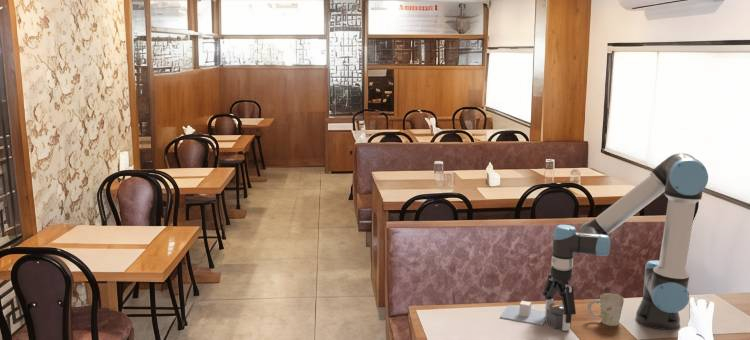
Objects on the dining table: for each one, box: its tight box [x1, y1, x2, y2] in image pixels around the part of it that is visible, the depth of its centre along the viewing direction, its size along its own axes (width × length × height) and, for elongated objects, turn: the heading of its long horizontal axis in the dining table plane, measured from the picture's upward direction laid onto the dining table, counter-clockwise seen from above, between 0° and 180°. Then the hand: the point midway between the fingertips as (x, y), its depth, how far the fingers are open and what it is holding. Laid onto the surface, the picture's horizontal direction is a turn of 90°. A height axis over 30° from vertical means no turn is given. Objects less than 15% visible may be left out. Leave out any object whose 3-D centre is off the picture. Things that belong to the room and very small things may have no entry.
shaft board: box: [499, 300, 546, 326], centre depth 251 cm, size 16×13×5 cm
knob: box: [545, 302, 573, 330], centre depth 243 cm, size 7×7×8 cm
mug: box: [586, 292, 625, 327], centre depth 245 cm, size 8×13×10 cm, turn 78°
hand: (557, 322), depth 244 cm, fingers open, 12 cm apart
